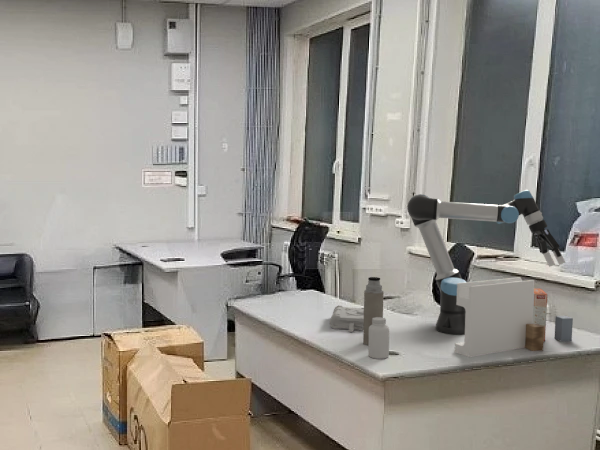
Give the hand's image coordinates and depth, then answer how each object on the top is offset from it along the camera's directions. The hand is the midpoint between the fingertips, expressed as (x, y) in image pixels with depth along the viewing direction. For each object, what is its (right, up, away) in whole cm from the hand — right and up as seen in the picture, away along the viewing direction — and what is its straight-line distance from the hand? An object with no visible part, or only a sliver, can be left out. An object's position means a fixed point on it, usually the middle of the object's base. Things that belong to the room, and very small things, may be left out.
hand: (557, 264), depth 278 cm
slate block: (-2, -32, -10) cm, 34 cm away
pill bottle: (-86, -33, -39) cm, 100 cm away
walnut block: (-20, -33, -26) cm, 47 cm away
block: (-37, -33, -27) cm, 57 cm away
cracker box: (-13, -32, -7) cm, 35 cm away
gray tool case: (-93, -30, +11) cm, 98 cm away
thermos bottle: (-86, -32, -21) cm, 94 cm away
